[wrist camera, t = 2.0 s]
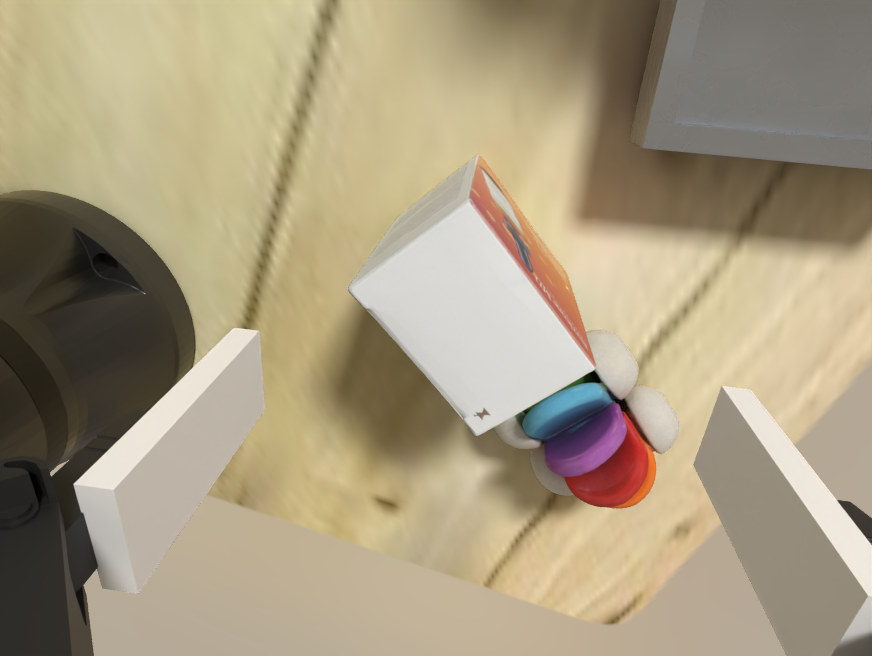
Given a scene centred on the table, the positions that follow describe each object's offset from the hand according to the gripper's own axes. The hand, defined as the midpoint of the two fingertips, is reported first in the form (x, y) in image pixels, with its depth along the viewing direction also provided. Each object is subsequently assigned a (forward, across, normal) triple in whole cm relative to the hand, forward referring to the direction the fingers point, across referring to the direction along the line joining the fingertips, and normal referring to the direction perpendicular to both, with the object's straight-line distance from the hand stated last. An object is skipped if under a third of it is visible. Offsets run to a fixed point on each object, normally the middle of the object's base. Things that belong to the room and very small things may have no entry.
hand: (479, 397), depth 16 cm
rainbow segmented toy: (+15, +6, -9) cm, 18 cm away
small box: (+15, 0, 0) cm, 15 cm away
